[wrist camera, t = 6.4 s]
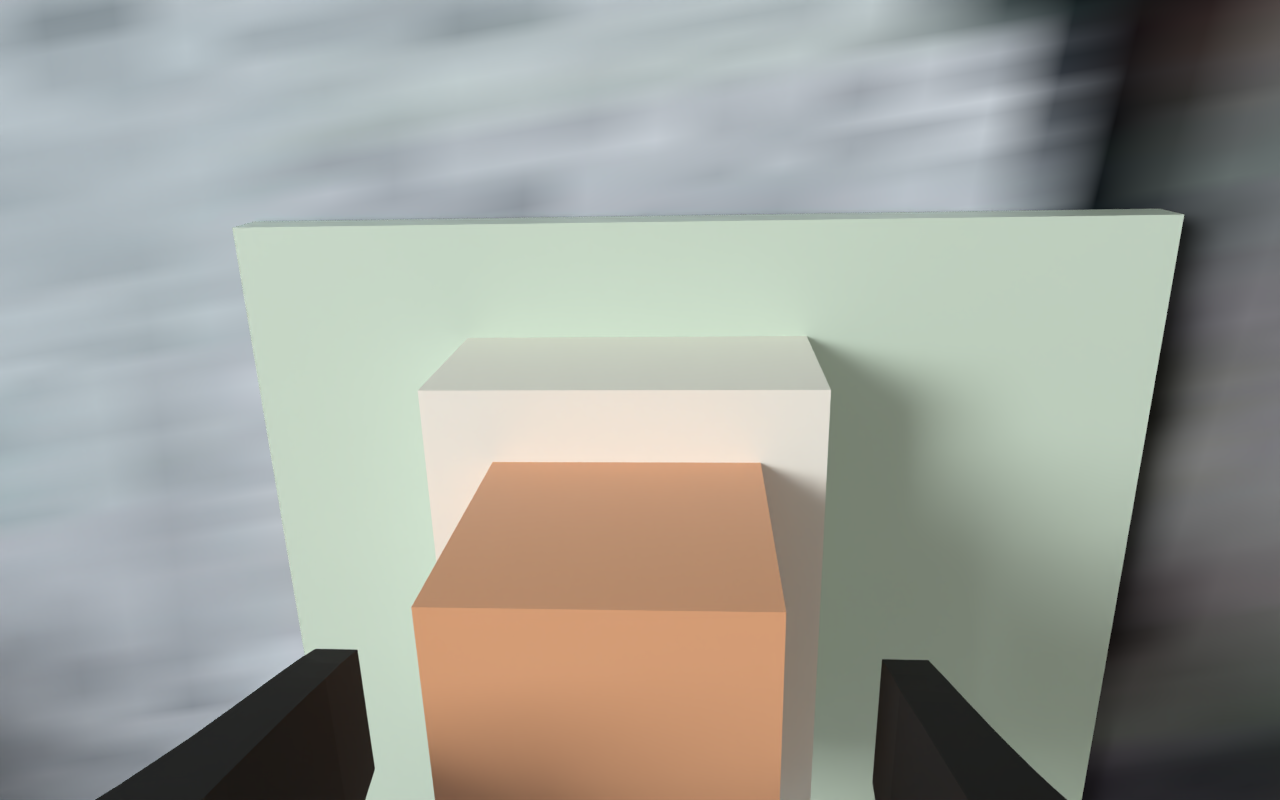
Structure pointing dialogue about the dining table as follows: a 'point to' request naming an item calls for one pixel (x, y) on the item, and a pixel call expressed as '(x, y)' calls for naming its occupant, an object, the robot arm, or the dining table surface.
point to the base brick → (653, 447)
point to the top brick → (606, 636)
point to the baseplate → (857, 447)
